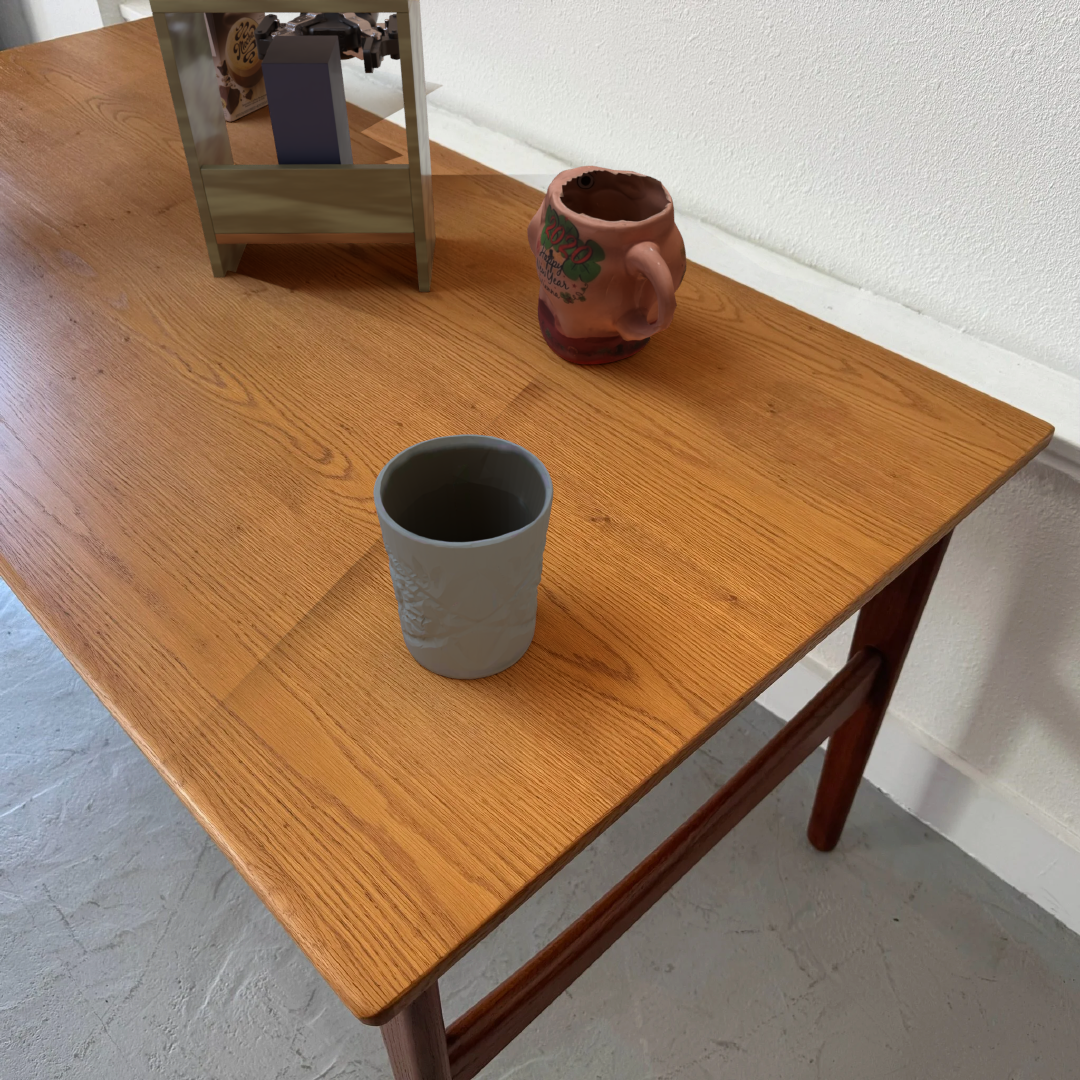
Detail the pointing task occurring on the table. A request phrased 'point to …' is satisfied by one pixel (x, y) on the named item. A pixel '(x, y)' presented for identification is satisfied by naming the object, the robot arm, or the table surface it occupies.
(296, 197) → the shelf unit
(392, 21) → the robot arm
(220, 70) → the coffee box
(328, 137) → the carton
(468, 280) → the table surface
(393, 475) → the grey cup
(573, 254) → the pink ceramic mug
